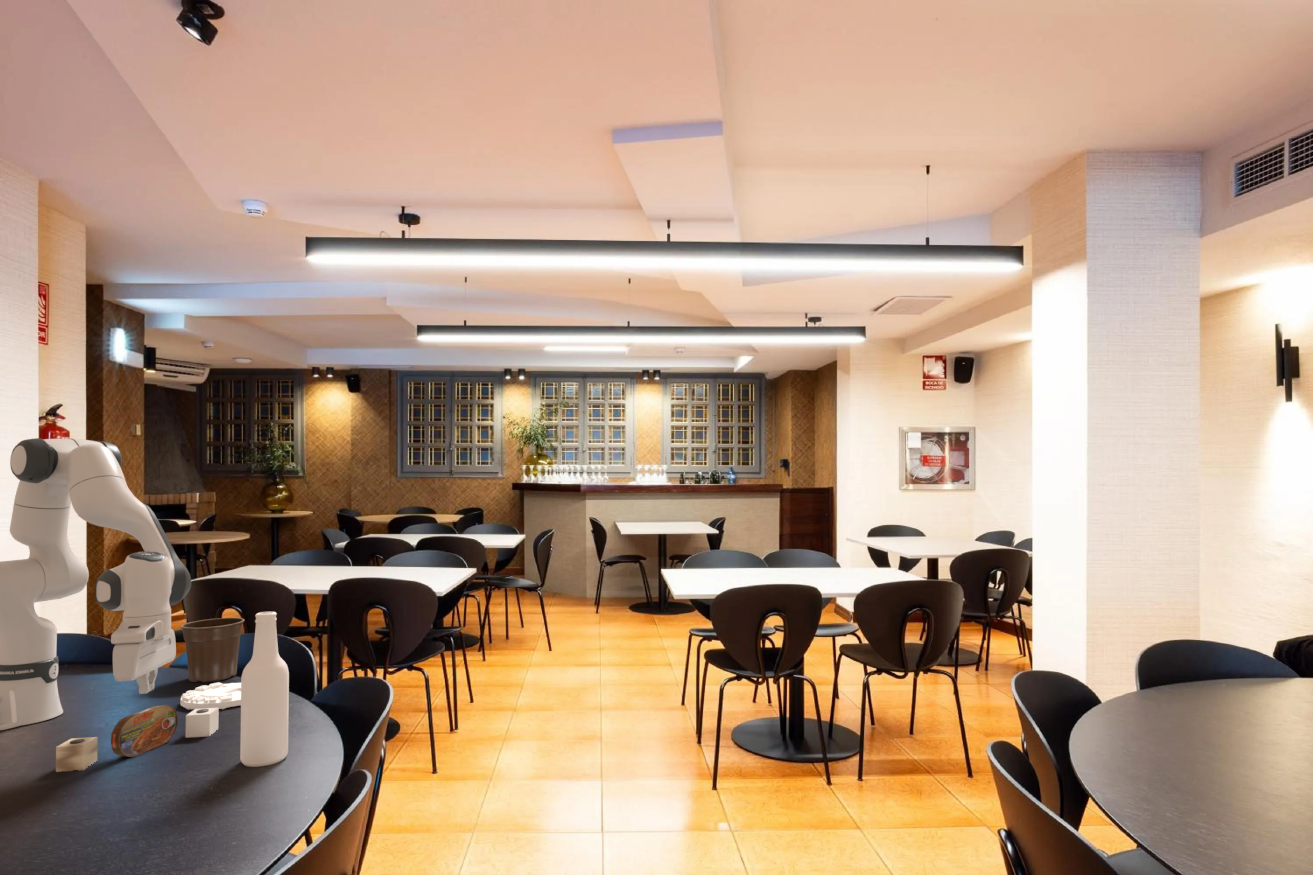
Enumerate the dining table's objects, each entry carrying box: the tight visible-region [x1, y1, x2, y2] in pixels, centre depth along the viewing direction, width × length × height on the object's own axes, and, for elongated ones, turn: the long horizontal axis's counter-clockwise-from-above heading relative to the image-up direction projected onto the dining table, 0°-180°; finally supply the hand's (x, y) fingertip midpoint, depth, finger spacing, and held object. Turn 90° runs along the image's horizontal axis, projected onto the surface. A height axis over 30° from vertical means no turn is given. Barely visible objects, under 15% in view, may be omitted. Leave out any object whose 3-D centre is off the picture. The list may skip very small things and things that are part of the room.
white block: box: [185, 708, 220, 739], centre depth 177 cm, size 5×5×5 cm
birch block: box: [55, 736, 99, 773], centre depth 157 cm, size 5×5×5 cm
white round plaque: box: [180, 681, 241, 711], centre depth 203 cm, size 20×20×3 cm
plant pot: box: [180, 617, 245, 683], centre depth 227 cm, size 16×16×16 cm
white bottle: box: [239, 611, 290, 768], centre depth 160 cm, size 9×9×30 cm
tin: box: [110, 704, 179, 758], centre depth 166 cm, size 15×3×8 cm, turn 168°
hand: (146, 691), depth 167 cm, fingers closed
